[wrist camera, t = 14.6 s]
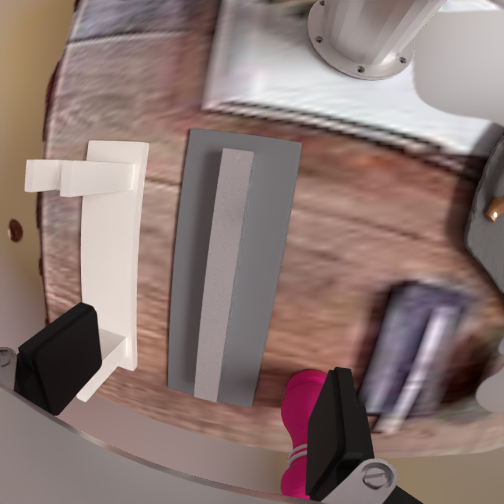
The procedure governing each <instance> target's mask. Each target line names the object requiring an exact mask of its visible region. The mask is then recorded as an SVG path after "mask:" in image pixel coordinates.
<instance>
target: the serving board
mask: <svg viewBox="0 0 504 504" xmlns="http://www.w3.org/2000/svg"><path fill="white" fill-rule="evenodd" d="M463 234H464V244H465V246H466V248H467V250H468V251H469V252H470V254H471V255H472V256H473V257H474V258H475V259H476V261H477V262H478V263H479V264H480V265H481V267H482V268H483V269H484V270H485V271H486V273H487V274H488V275H489V277H490V278H491V279H492V280H493V282H494V283H495V285H496V286H497V288H498V290H499V291H500V292H501V293H503V294H504V134H503V136H502V137H501V138H500V140H499V141H498V142H497V144H496V145H495V146H494V148H493V150H492V152H491V153H490V156H489V158H488V160H487V163H486V165H485V167H484V169H483V174H482V176H481V179H480V181H479V184H478V186H477V188H476V191H475V194H474V197H473V201H472V207H471V209H470V211H469V217H468V221H467V223H465V224H464V226H463Z"/></svg>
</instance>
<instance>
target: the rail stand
mask: <svg viewBox="0 0 504 504" xmlns="http://www.w3.org/2000/svg"><path fill="white" fill-rule="evenodd" d="M148 150H149V143H144V142H127V141H89V144H88V152H87V160H86V161H84V160H27V165H26V176H25V192H39V191H48V190H60V196H64V197H75V196H83V203H82V222H81V284H82V302H83V303H86V304H89V305H91V306H93V307H94V309H95V311H96V312H97V317H98V328H99V338H100V347H101V355H102V366H101V368H100V369H99V371H98V372H97V373H96V374H95V375H94V376H93V377H92V378H91V379H90V380H89V382H88V383H87V384H86V385H85V386H84V387H83V388H82V389H81V390H80V392H79V393H78V394H77V398H78V399H80V400H82V401H84V402H86V401H87V400H88V399H89V398H90V396H91V395H92V394H93V393H94V392H95V391H96V390H97V389H98V388H99V386H100V385H101V384H102V383H103V382H104V381H105V380H106V379H107V377H108V376H109V375H110V374H111V373H112V372H113V371H114V370H115V369H116V367H117V366H120V367H122V368H125V369H128V370H131V371H134V369H135V368H136V367H137V366H138V365H137V333H136V298H137V265H138V246H139V232H140V219H141V208H142V198H143V189H144V180H145V172H146V165H147V157H148Z"/></svg>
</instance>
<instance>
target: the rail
mask: <svg viewBox="0 0 504 504" xmlns="http://www.w3.org/2000/svg"><path fill="white" fill-rule="evenodd" d="M256 155H257V154H256V153H254V152H250V151H243V150H236V149H228V148H223V153H222V159H221V165H220V172H219V178H218V185H217V192H216V199H215V206H214V213H213V220H212V228H211V235H210V243H209V251H208V259H207V267H206V275H205V284H204V293H203V302H202V311H201V321H200V331H199V342H198V353H197V364H196V376H195V389H194V397H197V398H200V399H204V400H208V401H213V402H217V399H218V397H219V394H220V391H221V384H222V377H223V370H224V363H225V356H226V349H227V342H228V335H229V329H230V322H231V315H232V308H233V302H234V295H235V288H236V282H237V275H238V269H239V262H240V256H241V249H242V243H243V236H244V230H245V223H246V217H247V211H248V204H249V198H250V192H251V186H252V179H253V173H254V167H255V161H256Z"/></svg>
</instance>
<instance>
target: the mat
mask: <svg viewBox="0 0 504 504" xmlns="http://www.w3.org/2000/svg"><path fill="white" fill-rule="evenodd" d="M223 148H228V149H236V150H243V151H250V152H254V153H256V154H257V155H256V161H255V167H254V173H253V179H252V186H251V192H250V198H249V204H248V211H247V217H246V223H245V230H244V236H243V243H242V249H241V256H240V262H239V269H238V275H237V282H236V288H235V295H234V302H233V308H232V315H231V322H230V329H229V335H228V342H227V349H226V356H225V363H224V370H223V377H222V384H221V391H220V394H219V397H218V399H217V401H220V402H224V403H228V404H233V405H238V406H243V407H248V408H251V407H252V402H253V398H254V394H255V389H256V385H257V380H258V376H259V371H260V366H261V362H262V357H263V352H264V348H265V343H266V338H267V333H268V329H269V324H270V319H271V314H272V309H273V304H274V299H275V294H276V289H277V284H278V278H279V273H280V268H281V263H282V257H283V252H284V247H285V241H286V236H287V230H288V225H289V219H290V214H291V208H292V202H293V196H294V190H295V185H296V179H297V173H298V167H299V160H300V154H301V148H302V143H300V142H294V141H288V140H282V139H276V138H269V137H262V136H255V135H248V134H240V133H231V132H222V131H212V130H201V129H191V131H190V137H189V143H188V149H187V156H186V163H185V170H184V177H183V184H182V192H181V199H180V208H179V216H178V225H177V235H176V245H175V256H174V267H173V280H172V294H171V310H170V330H169V359H168V388H170V389H173V390H177V391H180V392H184V393H188V394H191V395H194V389H195V376H196V364H197V353H198V342H199V331H200V321H201V311H202V302H203V293H204V284H205V275H206V267H207V259H208V251H209V243H210V235H211V228H212V220H213V213H214V206H215V199H216V192H217V185H218V178H219V172H220V165H221V159H222V153H223Z"/></svg>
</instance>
